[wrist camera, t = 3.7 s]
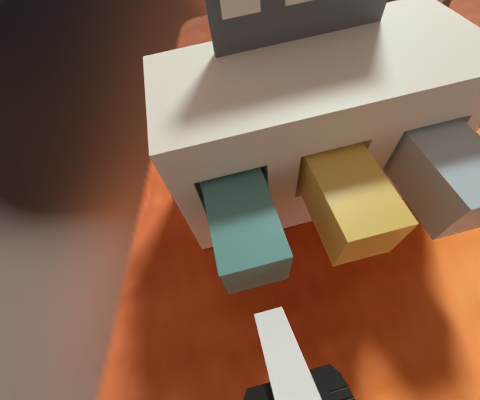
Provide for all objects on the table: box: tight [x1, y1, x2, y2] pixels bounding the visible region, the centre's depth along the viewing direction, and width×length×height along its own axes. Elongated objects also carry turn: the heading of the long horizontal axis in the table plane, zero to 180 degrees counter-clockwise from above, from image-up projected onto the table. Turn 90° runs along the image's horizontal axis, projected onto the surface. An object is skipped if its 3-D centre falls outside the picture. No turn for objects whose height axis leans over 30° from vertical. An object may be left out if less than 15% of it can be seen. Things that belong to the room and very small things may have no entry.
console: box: [143, 0, 480, 250], centre depth 23 cm, size 22×10×13 cm, turn 103°
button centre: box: [297, 142, 419, 267], centre depth 18 cm, size 4×10×4 cm, turn 13°
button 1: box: [201, 167, 293, 295], centre depth 18 cm, size 4×10×4 cm, turn 13°
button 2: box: [383, 118, 480, 240], centre depth 19 cm, size 4×10×4 cm, turn 13°
